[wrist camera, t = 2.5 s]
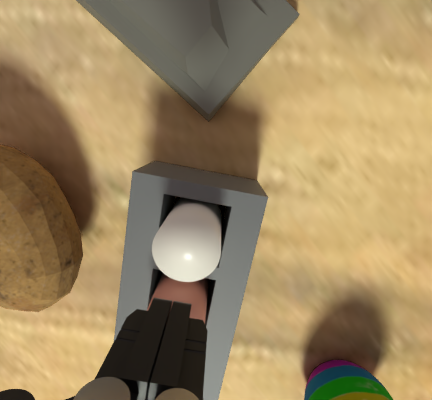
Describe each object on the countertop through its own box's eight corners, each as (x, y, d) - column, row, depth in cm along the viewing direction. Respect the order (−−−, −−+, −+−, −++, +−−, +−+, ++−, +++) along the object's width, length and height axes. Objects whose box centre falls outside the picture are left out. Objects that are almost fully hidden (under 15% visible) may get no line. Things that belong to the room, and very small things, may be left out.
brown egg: (165, 254, 22) (144, 298, 16) (212, 263, 22) (209, 310, 17) (158, 295, 23) (137, 351, 17) (204, 304, 23) (198, 361, 18)
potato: (48, 291, 27) (-22, 356, 19) (-48, 169, 24) (-177, 187, 16) (128, 249, 26) (87, 302, 18) (37, 114, 23) (-60, 106, 15)
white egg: (175, 189, 21) (156, 212, 15) (226, 198, 21) (226, 225, 15) (168, 236, 22) (148, 275, 16) (216, 245, 22) (213, 287, 16)
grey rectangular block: (155, 160, 23) (132, 171, 18) (257, 180, 24) (268, 197, 18) (132, 332, 28) (109, 385, 22) (218, 347, 28) (216, 404, 22)
